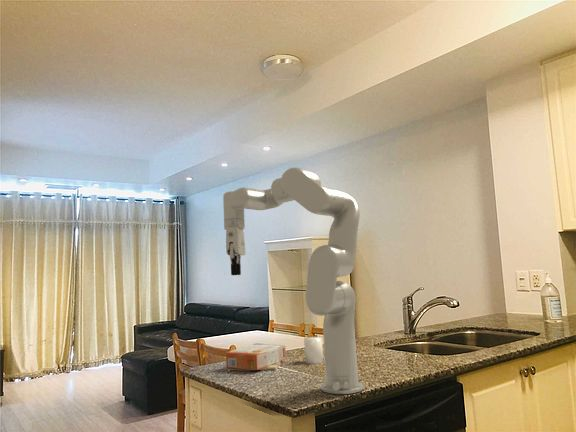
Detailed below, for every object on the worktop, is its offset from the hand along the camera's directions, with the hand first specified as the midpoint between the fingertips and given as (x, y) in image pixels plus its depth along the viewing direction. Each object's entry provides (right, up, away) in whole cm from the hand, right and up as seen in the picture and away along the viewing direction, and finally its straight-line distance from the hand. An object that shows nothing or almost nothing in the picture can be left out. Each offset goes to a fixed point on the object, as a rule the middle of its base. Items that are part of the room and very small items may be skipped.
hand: (236, 275), depth 158 cm
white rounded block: (+29, -36, +12) cm, 47 cm away
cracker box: (+1, -32, 0) cm, 32 cm away
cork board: (+7, -36, +9) cm, 38 cm away
